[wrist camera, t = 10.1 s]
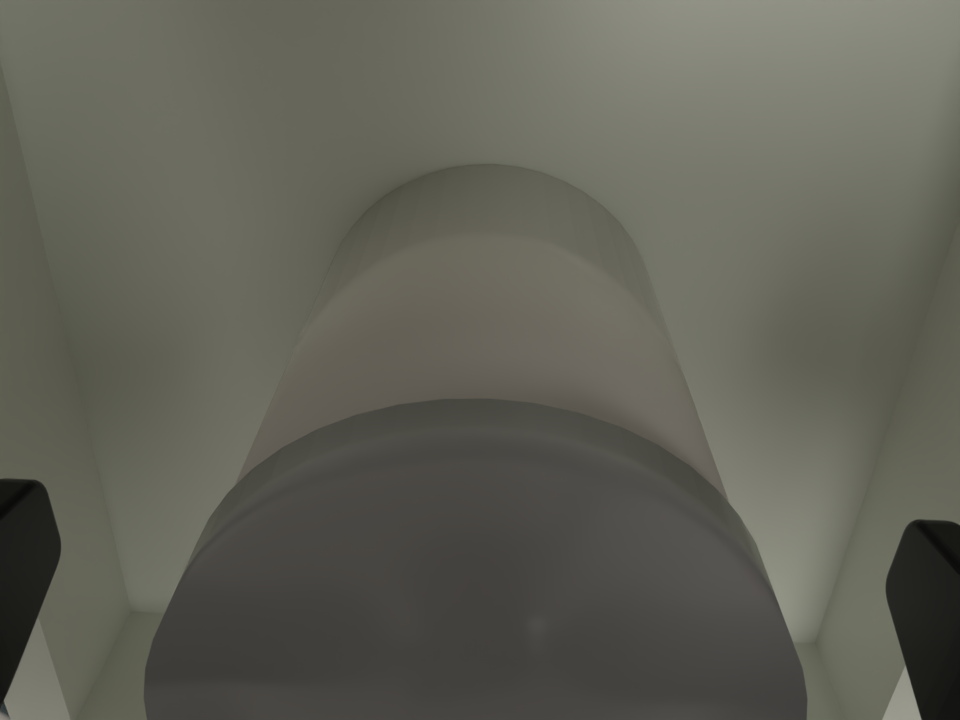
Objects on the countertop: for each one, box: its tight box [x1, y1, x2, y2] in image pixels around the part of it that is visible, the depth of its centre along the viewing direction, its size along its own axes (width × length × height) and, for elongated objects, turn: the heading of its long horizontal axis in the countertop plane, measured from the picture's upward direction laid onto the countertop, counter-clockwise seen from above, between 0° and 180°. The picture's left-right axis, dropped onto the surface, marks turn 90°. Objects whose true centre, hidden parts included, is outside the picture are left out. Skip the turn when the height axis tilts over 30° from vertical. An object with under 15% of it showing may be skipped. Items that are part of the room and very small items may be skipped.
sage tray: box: [0, 0, 960, 720], centre depth 12 cm, size 15×15×4 cm
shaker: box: [144, 164, 808, 720], centre depth 10 cm, size 5×5×7 cm
